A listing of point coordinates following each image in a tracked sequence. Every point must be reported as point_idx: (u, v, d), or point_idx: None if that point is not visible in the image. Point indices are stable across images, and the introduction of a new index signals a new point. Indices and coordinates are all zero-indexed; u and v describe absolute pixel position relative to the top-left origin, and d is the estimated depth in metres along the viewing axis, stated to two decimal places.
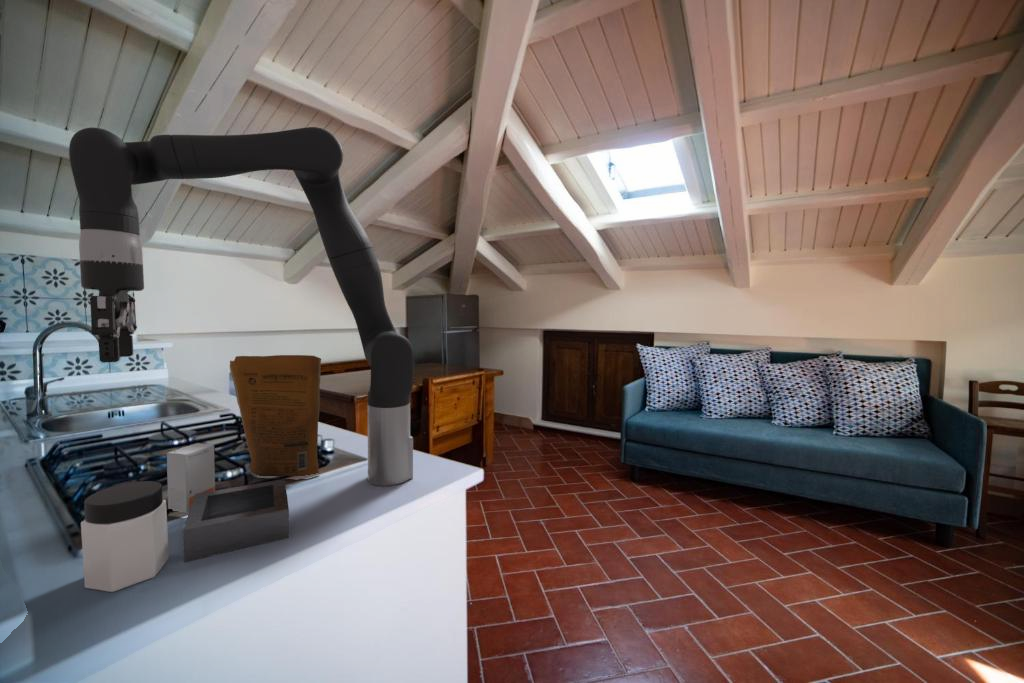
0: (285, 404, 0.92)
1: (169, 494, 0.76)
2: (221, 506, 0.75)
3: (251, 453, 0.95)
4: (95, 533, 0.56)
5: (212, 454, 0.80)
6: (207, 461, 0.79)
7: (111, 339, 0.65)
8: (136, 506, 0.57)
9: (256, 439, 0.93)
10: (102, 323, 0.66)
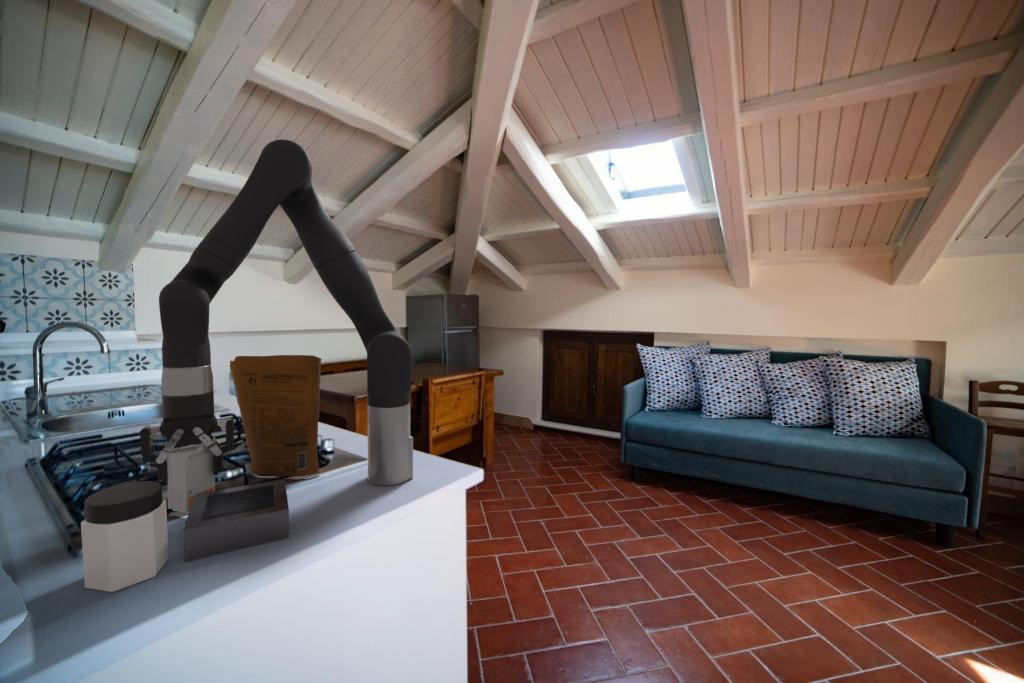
0: (285, 404, 0.92)
1: (169, 494, 0.76)
2: (221, 506, 0.75)
3: (251, 453, 0.95)
4: (95, 533, 0.56)
5: (212, 454, 0.80)
6: (207, 461, 0.79)
7: None
8: (136, 506, 0.57)
9: (256, 439, 0.93)
10: (214, 443, 0.79)
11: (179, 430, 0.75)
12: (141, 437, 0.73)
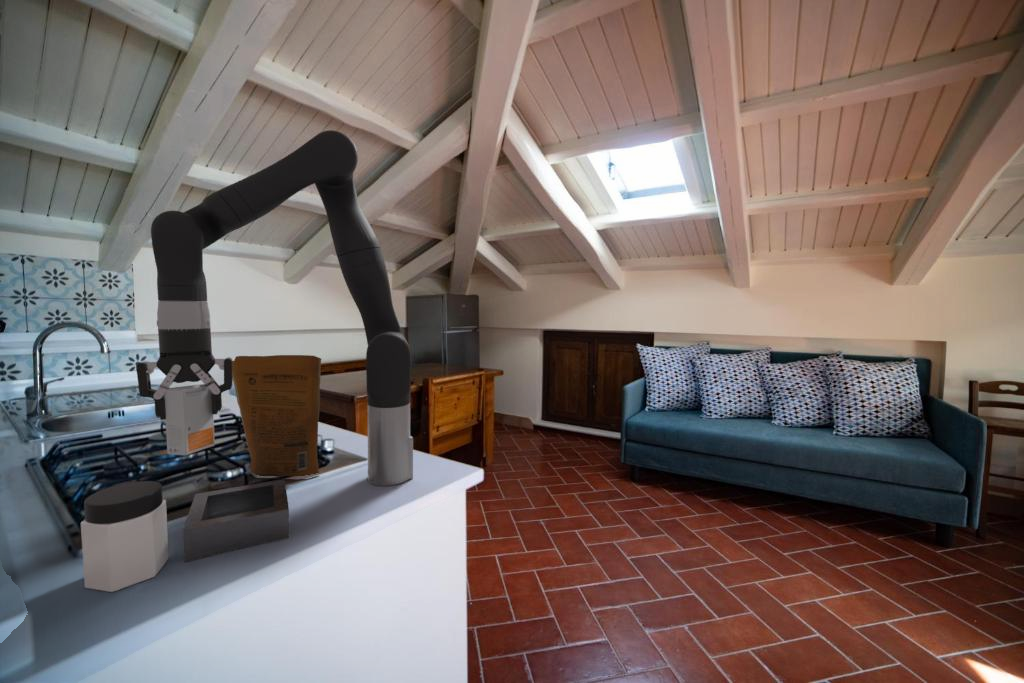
0: (285, 404, 0.92)
1: (167, 431, 0.75)
2: (221, 506, 0.75)
3: (251, 453, 0.95)
4: (95, 533, 0.56)
5: (210, 393, 0.79)
6: (205, 400, 0.78)
7: None
8: (136, 506, 0.57)
9: (256, 439, 0.93)
10: (213, 381, 0.78)
11: (176, 366, 0.74)
12: (138, 371, 0.72)
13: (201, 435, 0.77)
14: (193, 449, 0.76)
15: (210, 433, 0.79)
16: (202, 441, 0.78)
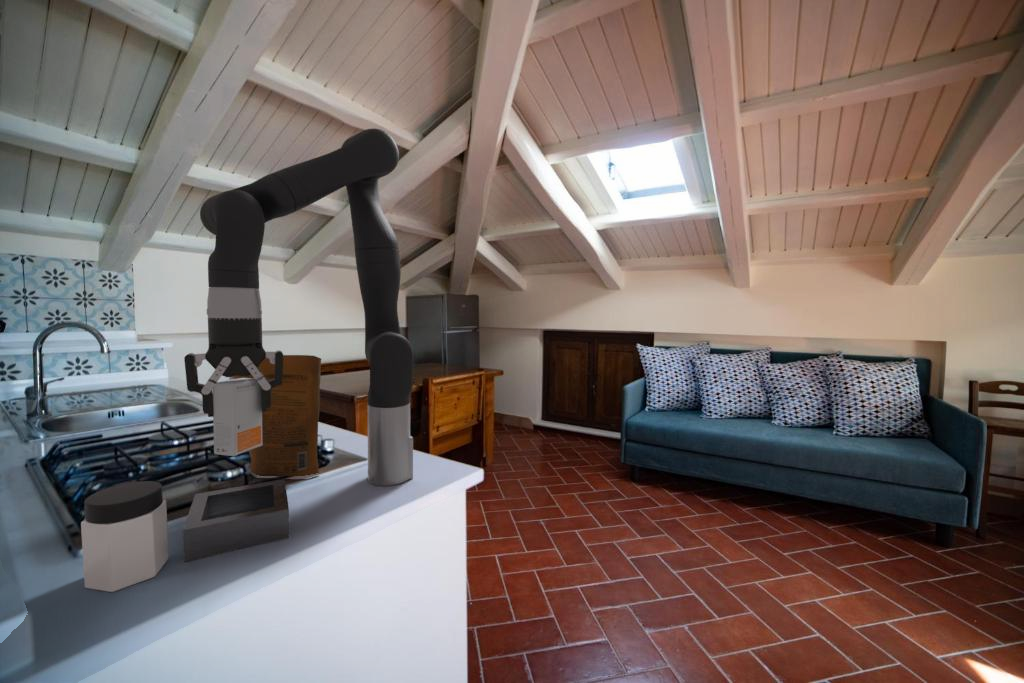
0: (285, 404, 0.92)
1: (215, 429, 0.69)
2: (221, 506, 0.75)
3: (251, 453, 0.95)
4: (95, 533, 0.56)
5: (259, 389, 0.73)
6: (255, 396, 0.72)
7: None
8: (136, 506, 0.57)
9: None
10: (263, 376, 0.72)
11: (226, 358, 0.68)
12: (186, 364, 0.66)
13: (250, 434, 0.71)
14: (242, 449, 0.70)
15: (258, 432, 0.73)
16: (250, 440, 0.71)
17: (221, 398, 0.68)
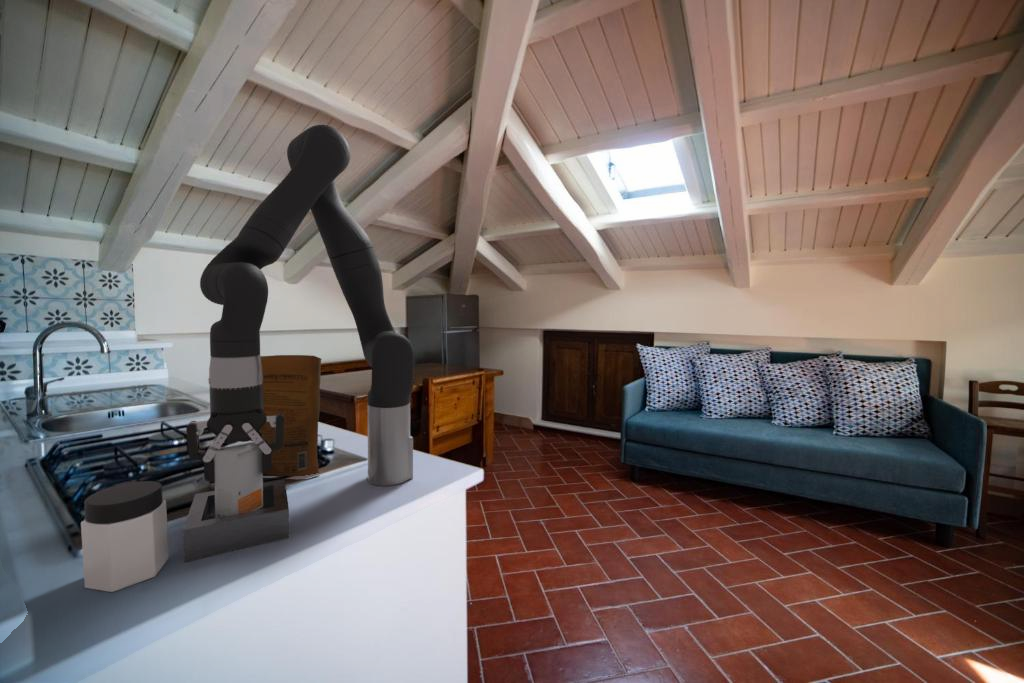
0: (285, 404, 0.92)
1: (216, 496, 0.70)
2: None
3: None
4: (95, 533, 0.56)
5: (260, 452, 0.74)
6: (255, 460, 0.73)
7: None
8: (136, 506, 0.57)
9: None
10: (264, 440, 0.73)
11: (228, 426, 0.69)
12: (188, 433, 0.67)
13: (251, 499, 0.72)
14: None
15: (259, 495, 0.74)
16: (251, 504, 0.72)
17: (222, 465, 0.69)
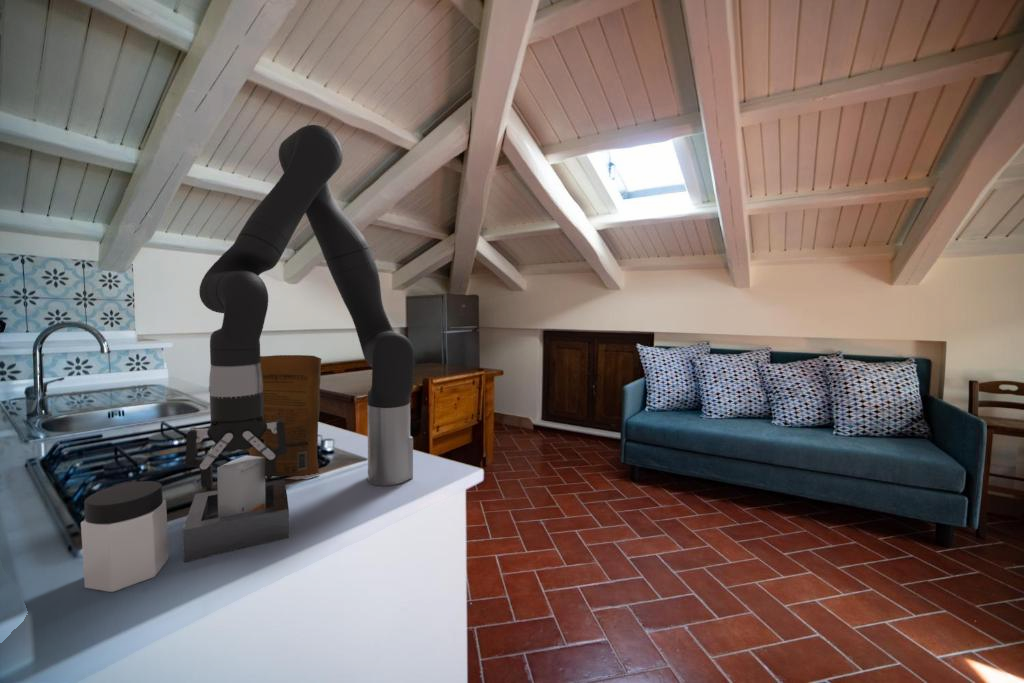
0: (285, 404, 0.92)
1: (219, 512, 0.70)
2: None
3: (251, 453, 0.95)
4: (95, 533, 0.56)
5: (263, 467, 0.74)
6: (258, 475, 0.73)
7: None
8: (136, 506, 0.57)
9: None
10: (266, 446, 0.73)
11: (228, 434, 0.69)
12: (187, 440, 0.67)
13: None
14: None
15: None
16: None
17: (226, 482, 0.69)
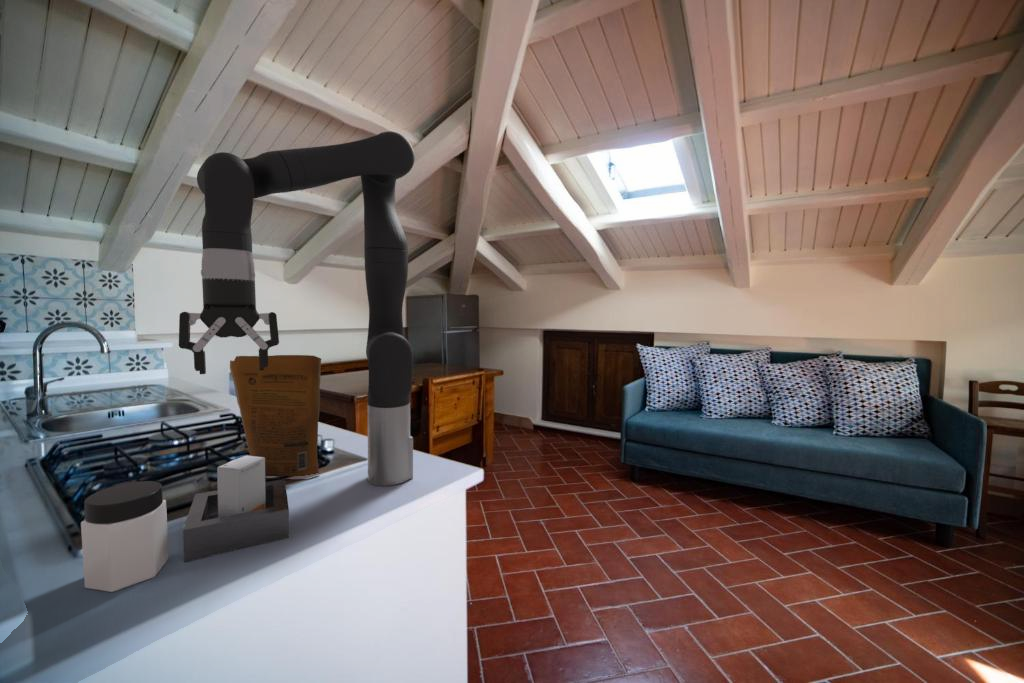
0: (285, 404, 0.92)
1: (219, 512, 0.70)
2: None
3: (251, 453, 0.95)
4: (95, 533, 0.56)
5: (263, 467, 0.74)
6: (258, 475, 0.73)
7: None
8: (136, 506, 0.57)
9: (256, 439, 0.93)
10: (259, 336, 0.74)
11: (221, 318, 0.70)
12: (180, 320, 0.68)
13: None
14: None
15: None
16: None
17: (226, 482, 0.69)
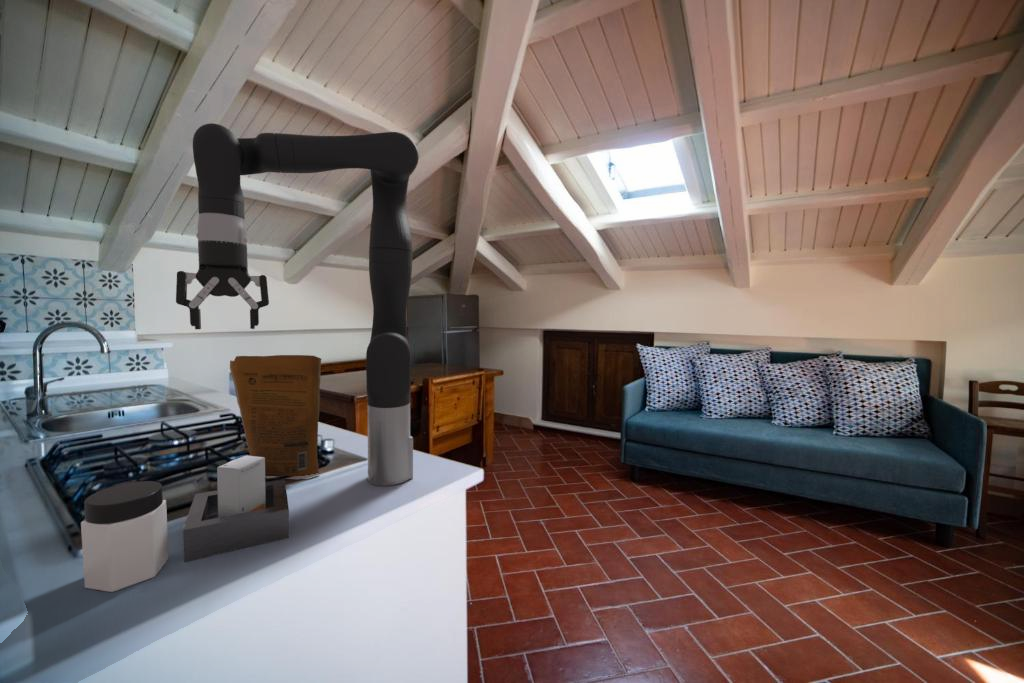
0: (285, 404, 0.92)
1: (219, 512, 0.70)
2: None
3: (251, 453, 0.95)
4: (95, 533, 0.56)
5: (263, 467, 0.74)
6: (258, 475, 0.73)
7: None
8: (136, 506, 0.57)
9: (256, 439, 0.93)
10: None
11: (215, 278, 0.76)
12: (177, 278, 0.74)
13: None
14: None
15: None
16: None
17: (226, 482, 0.69)
